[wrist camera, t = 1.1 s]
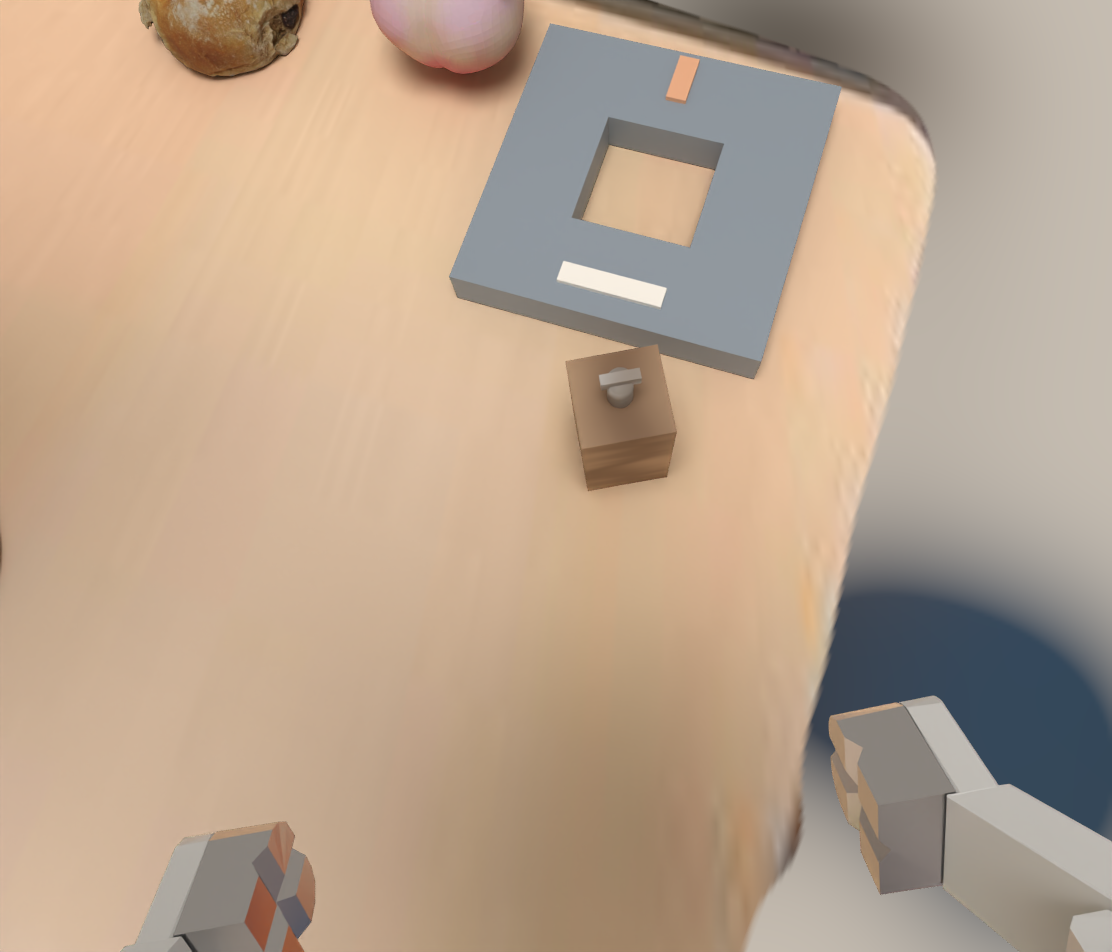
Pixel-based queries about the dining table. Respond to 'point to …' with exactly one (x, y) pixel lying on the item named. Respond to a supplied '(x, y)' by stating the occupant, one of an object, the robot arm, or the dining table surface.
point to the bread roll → (224, 31)
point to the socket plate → (630, 259)
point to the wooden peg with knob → (622, 416)
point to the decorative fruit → (451, 30)
